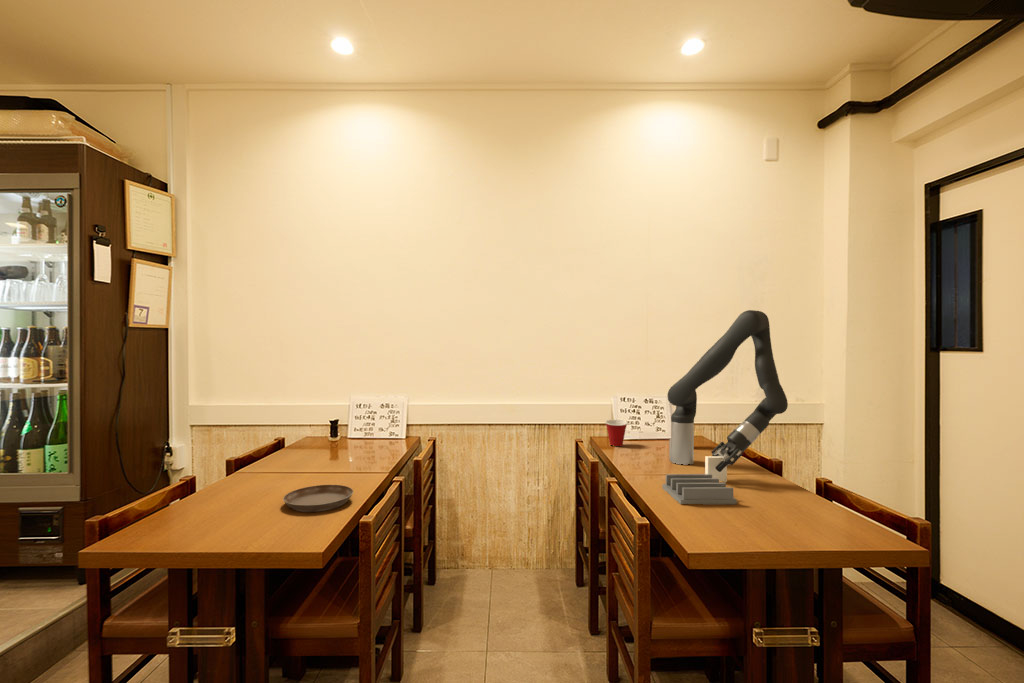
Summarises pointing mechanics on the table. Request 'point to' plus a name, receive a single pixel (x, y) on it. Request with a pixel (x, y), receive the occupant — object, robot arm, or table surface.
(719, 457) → the tall cream block
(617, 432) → the plastic cup
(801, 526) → the table surface
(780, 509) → the table surface
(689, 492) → the dish rack
